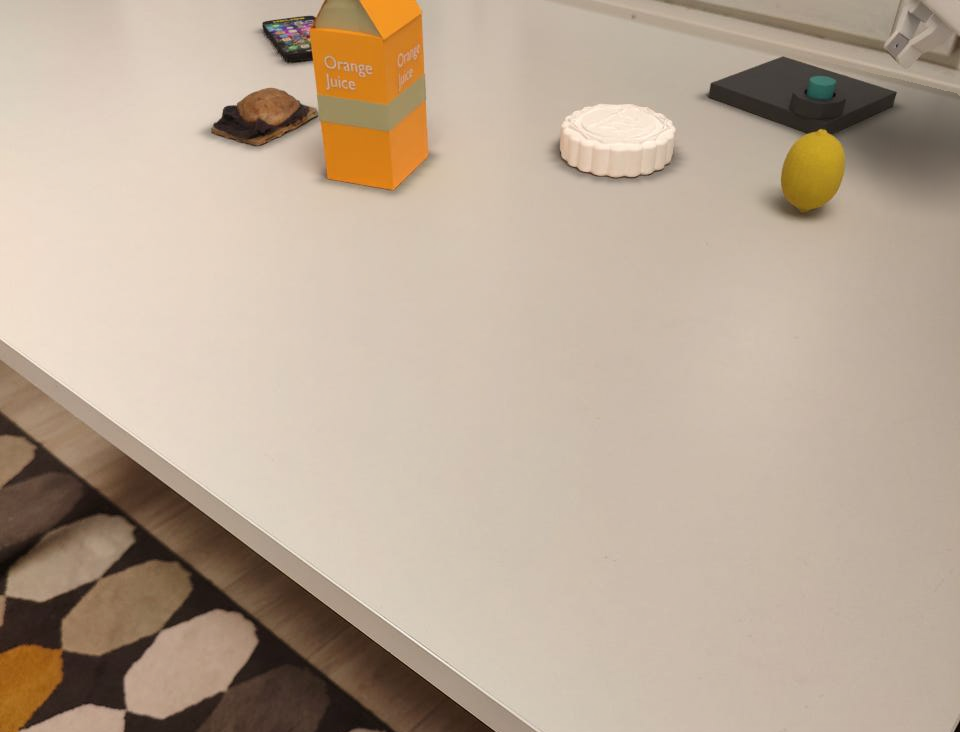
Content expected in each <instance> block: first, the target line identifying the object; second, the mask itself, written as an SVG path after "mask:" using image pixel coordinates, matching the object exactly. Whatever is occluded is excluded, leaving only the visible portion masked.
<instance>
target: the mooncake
mask: <svg viewBox="0 0 960 732" xmlns="http://www.w3.org/2000/svg"><path fill="white" fill-rule="evenodd" d="M676 135H677V128H676V127H675V126H674V123H673V121H672V120H671V119H669V118H667V117H666V116H665V114H663V113H659V112H655V111H654V110H652V109H651V108H650V107H646V106H639V105H635V104H634V103H627V104H621V103H620V104H606V103H598V104H595V105H592V106H584V107H583V108H582V109H578V110H575V111H574V110H573V112H571V114H570V115H567V116H565V117H564V120H563V122H562V123H561V124H560V137H559V140H560V141H559V151H560V152H561V155H560V156H561V159H563V160H564V161H566V162H567V164H568V165H569V166H570V167H573V168H578V170H579V171H581V172H582V173H591V174H593V175H594V176H600V177H604V176H608V177H611V178H621V177H627V178H635V177H638V176H640V175H643V176H647V175H650V174H652V173H653V172H655V171H661V170H663V169H664V168H665V166H666V165H668V164H670V163H671V162H672V156H673V155H674V149H675V148H674V147H675V142H676Z"/></svg>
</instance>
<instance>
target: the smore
mask: <svg viewBox="0 0 960 732" xmlns="http://www.w3.org/2000/svg"><path fill="white" fill-rule="evenodd" d="M300 101H301V100H299V99H297V98H296V97H294V96H293V95H291V94H289V93H288V92H287V91H285V90H282V89H279V88H275V87H265V88H263V89H260V90H257V91H253V92H251V93H248V95H246V96H245V97H243V98H242V99H241V100H240V101H238V102H237V103H236V104H233V105H231V104H230V105H226V106H224V107H223V108H222V113H221V118H219V119H218V121H216V122H213V124H212V126H211V127H210V130H211V133H213V134H214V136H215V135H219V136H221V137H224V138H226V139H233V140H235V141H236V142H238V143H239V142H240V143H241V142H242V143H245V144H249V145H252V146H257V147H259V146H261V145H264V144H265V143H269V142H271V141H272V140H275V138H278V137H279V138H280V137H282V135H284V134H285V132H288V131H291V130H296V129H297V128H299V127H300V126H301V125H302V124H305V123H306V122H308V121H309V120H311V119H313V118H315V117H318V115H319V112H318V110H317V108H316V107H313V106H311V105H305V104H302V103H301V102H300Z"/></svg>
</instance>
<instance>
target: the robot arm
mask: <svg viewBox="0 0 960 732" xmlns="http://www.w3.org/2000/svg"><path fill="white" fill-rule="evenodd" d="M921 22H922V23H923V24H924V27H925V28H926V29H925V30H923V31H922V32H920V33H919V34H917V35H916V36H915V34H916V32H917V30H918V28H919V26H920V24H921ZM954 34H956V35H957V36H958V37H959V38H960V0H908V1H907V3H905V5H904V6H903V8H902V11H901V13H900V15H899V19H898V21H897V24H896V27H895V31H894V32H893V33H892V34H891V35H890V36H889V38H888V39H887V40H886V41H885V42H884V44H883V50H884V52H886V53H887V54H888V55H889V56H890V57H891V58H892V59H893V60H894V61H895V62H896V63H897V64H898V65H900V66H901V67H902V68H904V69H910V68H911V67H912V66H914V64H915V63H916V62H917V61H918V60H919V58H921V56H922V55H923V54H926V53H928V52H931V51H932V50H934V49H936V48H938V47H940V46H942V45H944V44H946V43H947V42H948V41H949V40H950V38H952V36H953V35H954Z"/></svg>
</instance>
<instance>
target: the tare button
mask: <svg viewBox="0 0 960 732" xmlns="http://www.w3.org/2000/svg"><path fill="white" fill-rule="evenodd" d="M835 85H836V81H835V80H834V79H833V78H830V77H826V76H815V77H812V78H810V80H809V84H808V89H807V93H806V95H807V96H809V97H812V98H817V99H831V98H832V97H833V93H834V89H835Z"/></svg>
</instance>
